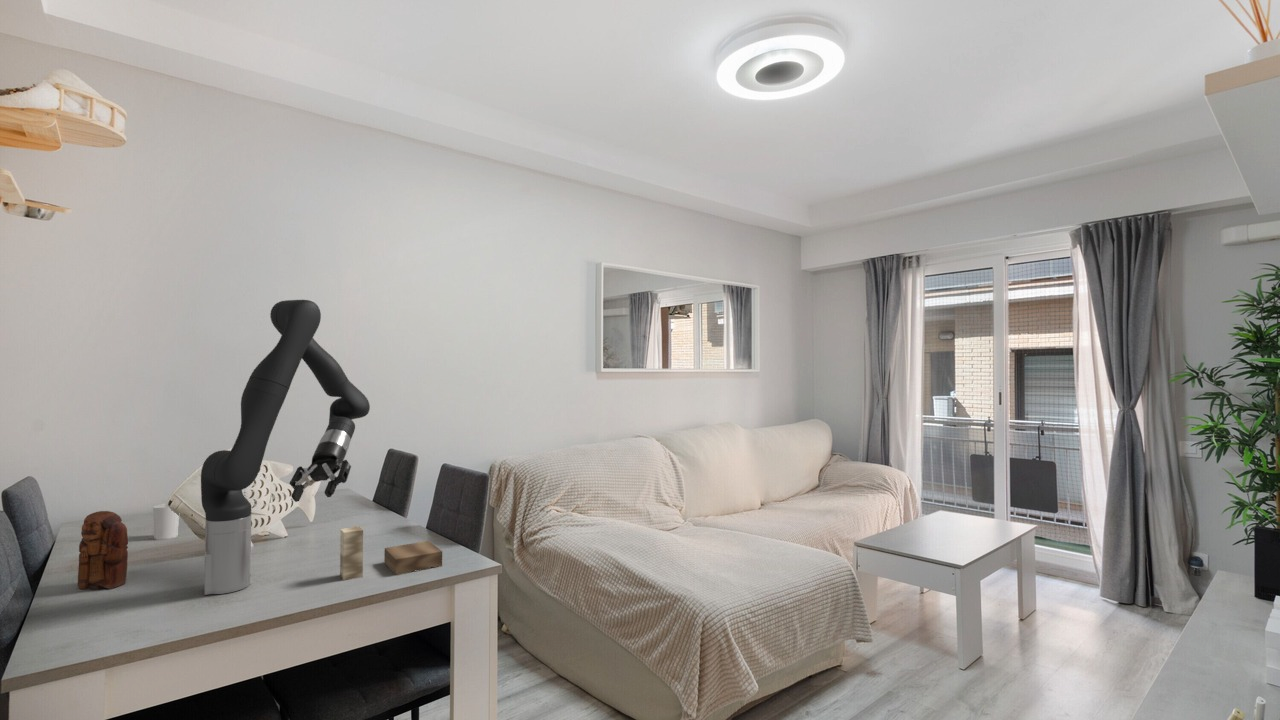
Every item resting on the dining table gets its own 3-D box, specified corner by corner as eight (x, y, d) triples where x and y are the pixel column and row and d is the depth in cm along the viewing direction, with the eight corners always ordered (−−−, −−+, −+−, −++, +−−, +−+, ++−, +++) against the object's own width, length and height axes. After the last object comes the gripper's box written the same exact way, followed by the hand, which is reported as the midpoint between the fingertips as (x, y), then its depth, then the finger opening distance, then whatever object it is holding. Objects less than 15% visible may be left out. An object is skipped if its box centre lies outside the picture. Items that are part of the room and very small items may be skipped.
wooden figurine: (65, 589, 143) (66, 514, 143) (91, 579, 149) (92, 508, 149) (111, 590, 142) (112, 515, 142) (135, 581, 148) (136, 509, 149)
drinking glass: (179, 533, 191) (179, 501, 192) (179, 537, 186) (180, 505, 186) (152, 536, 187) (153, 504, 187) (152, 541, 182) (153, 508, 182)
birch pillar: (343, 580, 150) (344, 532, 150) (340, 575, 154) (340, 528, 154) (362, 576, 153) (363, 529, 153) (358, 571, 156) (359, 526, 157)
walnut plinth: (395, 574, 154) (396, 559, 154) (384, 562, 164) (384, 548, 164) (442, 566, 161) (442, 551, 161) (428, 554, 171) (428, 540, 171)
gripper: (300, 444, 162) (276, 492, 149) (350, 436, 161) (331, 484, 149) (313, 462, 167) (291, 510, 154) (362, 454, 166) (344, 502, 154)
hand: (311, 497), depth 152 cm, fingers open, 8 cm apart
